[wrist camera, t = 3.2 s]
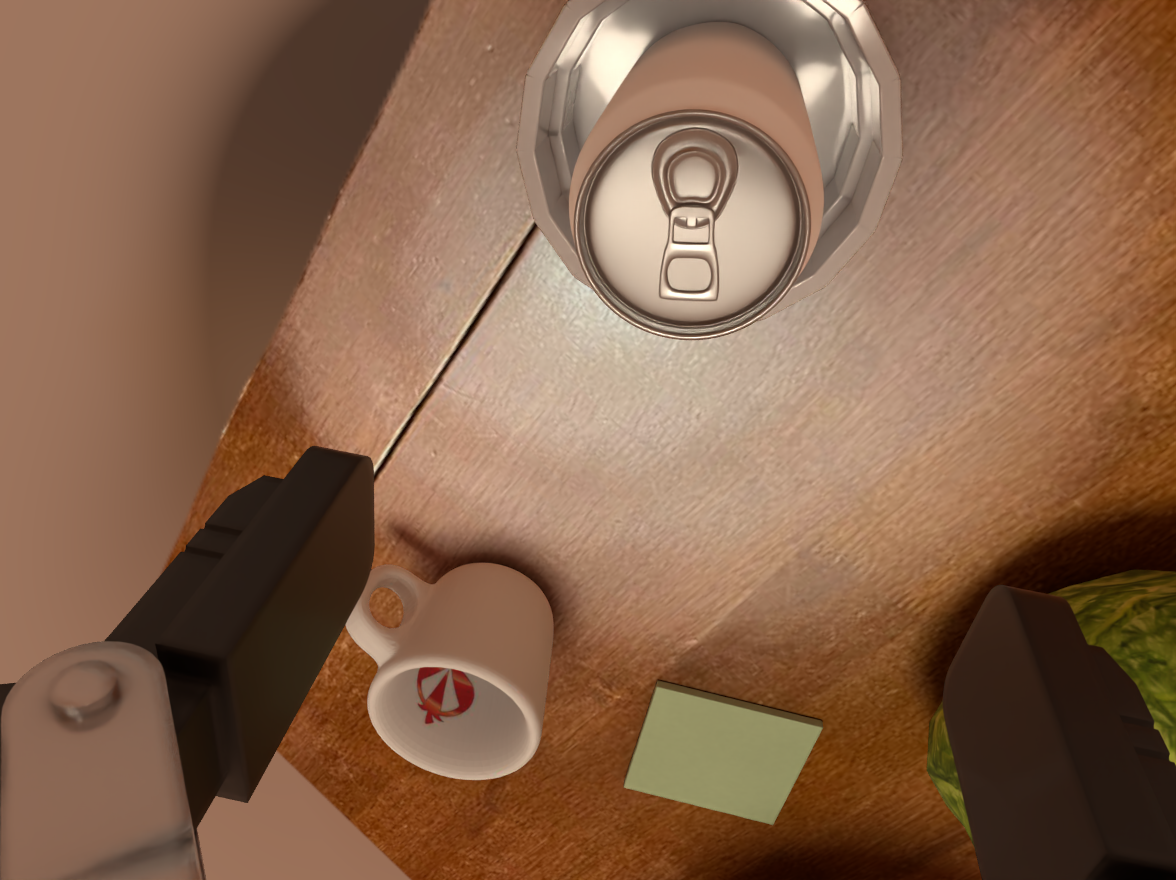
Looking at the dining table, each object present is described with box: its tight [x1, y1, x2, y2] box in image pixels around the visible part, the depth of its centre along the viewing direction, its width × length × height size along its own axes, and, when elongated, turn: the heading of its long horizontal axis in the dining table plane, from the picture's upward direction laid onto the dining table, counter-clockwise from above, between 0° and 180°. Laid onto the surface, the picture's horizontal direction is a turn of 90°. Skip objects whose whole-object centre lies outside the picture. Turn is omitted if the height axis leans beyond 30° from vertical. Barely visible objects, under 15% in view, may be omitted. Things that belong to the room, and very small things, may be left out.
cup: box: [345, 563, 554, 780], centre depth 42 cm, size 11×8×8 cm
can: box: [569, 22, 824, 340], centre depth 26 cm, size 6×6×12 cm
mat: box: [624, 680, 823, 825], centre depth 49 cm, size 9×9×1 cm
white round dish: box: [516, 0, 903, 321], centre depth 29 cm, size 12×12×5 cm
